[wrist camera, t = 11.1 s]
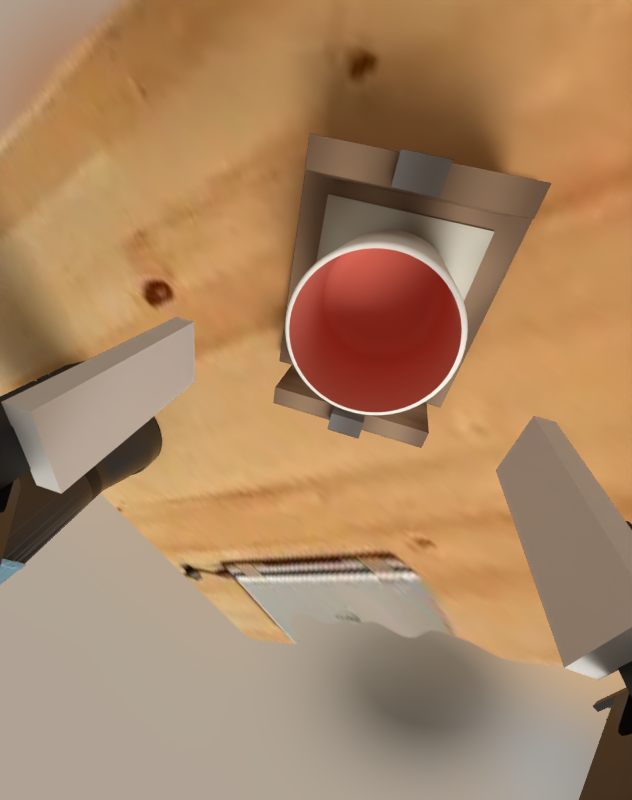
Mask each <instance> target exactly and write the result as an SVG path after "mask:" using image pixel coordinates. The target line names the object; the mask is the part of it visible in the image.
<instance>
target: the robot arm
mask: <svg viewBox="0 0 632 800" xmlns="http://www.w3.org/2000/svg"><path fill="white" fill-rule="evenodd" d="M194 382H195V351H194V322H192V321H188V320H185V319H181V318H177V317H175V318H173V319H171V320H169V321H167V322H165V323H163V324H161V325H159V326H157V327H155V328H153V329H151V330H148V331H146V332H144V333H142V334H140V335H138V336H136V337H134V338H132V339H130V340H128V341H126V342H124V343H122V344H120V345H118V346H116V347H113V348H111V349H109V350H107V351H105V352H103V353H101V354H99V355H97V356H95V357H93V358H91V359H89V360H87V361H82V362H78V363H74V364H70V365H66V366H64V367H62V368H60V369H58V370H56V371H54V372H52V373H50V375H45V376H43V377H41V378H39V379H37V381H36V382H35V381H32V382H30V383H28V384H26V385H24V386H22V387H20V388H18V389H16V390H13V391H11V392H9V393H7V394H5V395H3V396H1V397H0V585H1V584H2V583H3V582H4V581H6V580H7V579H8V578H9V577H10V576H12V575H13V574H14V573H15V572H16V571H18V570H19V569H21V568H23V567H24V566H25V563H26V562H27V561H28V560H29V559H30V558H31V557H32V556H34V555H35V554H36V553H37V552H38V551H39V550H40V549H41V548H42V547H43V546H44V545H45V544H46V543H47V542H48V541H50V540H51V538H53V537H54V536H55V535H56V534H57V533H58V532H59V531H60V530H61V529H62V528H63V527H64V526H65V525H67V524H68V523H69V522H70V521H71V520H72V519H73V518H74V517H75V516H76V515H77V514H78V513H79V512H80V511H81V510H82V509H83V508H85V507H86V506H87V505H88V504H89V503H90V502H91V501H92V500H93V499H94V498H95V497H96V496H97V495H98V494H100V493H101V492H102V491H103V490H105V489H107V488H109V487H110V486H112V485H114V484H116V483H118V482H120V481H122V480H124V479H125V478H127V477H129V476H131V475H134V474H136V473H139V472H141V471H142V470H144V469H145V468H146V467H148V466H149V465H150V464H151V463H152V462H153V461H154V460H155V459H156V458H157V456H158V455H159V453H160V451H161V446H162V440H161V434H160V430H159V428H158V425H157V423H156V421H155V419H154V416H155V415H156V414H157V413H158V412H159V411H161V410H162V409H163V408H164V407H165V406H167V405H168V404H169V403H170V402H171V401H173V400H174V399H175V398H176V397H177V396H179V395H180V394H181V393H182V392H183V391H185V390H186V389H187V388H188V387H189V386H190V385H192V384H193V383H194ZM496 472H497V475H498V478H499V481H500V484H501V486H502V489H503V492H504V495H505V498H506V501H507V504H508V507H509V510H510V512H511V515H512V518H513V521H514V524H515V527H516V530H517V533H518V535H519V538H520V541H521V544H522V547H523V550H524V553H525V556H526V559H527V561H528V564H529V567H530V570H531V573H532V576H533V579H534V582H535V584H536V587H537V590H538V593H539V596H540V599H541V602H542V605H543V608H544V610H545V613H546V616H547V619H548V622H549V625H550V628H551V631H552V633H553V636H554V639H555V642H556V645H557V648H558V651H559V654H560V656H561V659H562V662H563V665H564V668H566V669H569V670H572V671H575V672H578V673H581V674H584V675H586V676H589V677H592V678H595V679H598V680H600V679H602V678H604V677H606V676H607V675H609V674H611V673H613V672H615V671H617V670H619V672H620V674H621V676H622V678H623V680H624V682H625V685H626V688H624V689H622V690H620V691H618V692H616V693H614V694H611V695H610V696H607V697H605V698H603V699H601V700H599V701H597V702H596V703H595V704H594V705H593V707H594V708H595V709H596V710H597V711H598V712H599V711H601V710H603V709H605V708H611V710H610V713H609V716H608V718H607V719H606V720H607V722H606V725H605V727H604V730H603V733H602V736H601V738H600V741H599V744H598V747H597V750H596V753H595V755H594V759H593V761H592V764H591V767H590V770H589V773H588V775H587V778H586V781H585V784H584V787H583V790H582V792H581V795H580V798H579V800H632V524H631V523H630V522H628V521H625V520H624V518H623V517H622V516H621V514H620V513H619V511H618V510H617V508H616V507H615V506H614V504H613V503H612V501H611V500H610V498H609V497H608V496H607V494H606V493H605V491H604V490H603V489H602V487H601V486H600V484H599V483H598V481H597V480H596V479H595V477H594V476H593V474H592V473H591V471H590V470H589V469H588V467H587V466H586V464H585V463H584V461H583V460H582V459H581V457H580V456H579V454H578V453H577V451H576V450H575V449H574V447H573V446H572V444H571V443H570V442H569V440H568V439H567V437H566V436H565V434H564V433H563V432H562V430H561V429H560V427H559V426H558V424H557V423H556V422H554V421H550V420H547V419H543V418H539V417H536V416H533V418H532V419H531V421H530V422H529V423H528V425H527V426H526V428H525V429H524V431H523V432H522V433H521V435H520V436H519V438H518V439H517V441H516V442H515V444H514V445H513V446H512V448H511V449H510V451H509V452H508V454H507V455H506V456H505V458H504V459H503V461H502V462H501V464H500V465H499V467H498V468H497V469H496Z"/></svg>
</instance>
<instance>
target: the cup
mask: <svg viewBox="0 0 632 800" xmlns="http://www.w3.org/2000/svg"><path fill="white" fill-rule="evenodd" d="M467 333H468V322H467V314H466V309H465V305H464V302H463V299H462V296H461V294H460V292H459V290H458V288H457V286H456V284H455V282H454V280H453V278H452V276H451V275H450V273H449V271H448V269H447V267H446V265H445V263H444V261H443V260H442V258H441V256H440V255H439V254H438V252H437V251H436V250H435V249H434V248H433V247H432V246H431V245H430V244H429V243H427V242H426V241H424V240H423V239H421V238H420V237H418V236H416V235H414V234H411V233H408V232H405V231H401V230H393V229H384V230H376V231H372V232H368V233H365V234H363V235H360V236H358V237H356V238H355V239H353V240H351V241H349V242H348V243H346V244H344V245H343V246H341V247H339V248H338V249H336V250H334V251H333V252H331V253H329V254H328V255H326V256H325V257H323V258H322V259H320V260H319V261H318V262H317V263H315V264H314V265H313V266H312V267H311V268H310V269H309V270H308V271H307V272H306V274H305V275H304V276H303V277H302V279H301V280H300V282H299V283H298V285H297V286H296V288H295V290H294V292H293V294H292V297H291V299H290V302H289V305H288V310H287V314H286V323H285V335H286V343H287V348H288V351H289V355H290V357H291V360H292V362H293V364H294V367H295V368H296V370H297V372H298V374H299V375H300V377H301V378H302V379H303V381H304V382H305V383H306V384H307V385H308V386H309V387H310V389H312V390H313V391H314V392H315V393H316V394H317V395H318V396H320V397H321V398H323V399H324V400H326V401H327V402H329V403H330V404H332V405H334V406H336V407H339V408H341V409H344V410H347V411H350V412H353V413H358V414H365V415H388V414H394V413H399V412H402V411H406V410H409V409H411V408H414V407H416V406H418V405H420V404H422V403H424V402H425V401H427V400H428V399H430V398H431V397H433V396H434V395H435V394H436V393H438V392H439V391H440V390H441V389H442V388H443V387H444V386H445V385H446V384H447V382H448V381H449V380H450V379H451V377H452V376H453V374H454V373H455V371H456V370H457V368H458V366H459V364H460V362H461V359H462V357H463V354H464V350H465V347H466V341H467Z"/></svg>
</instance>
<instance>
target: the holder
mask: <svg viewBox="0 0 632 800" xmlns="http://www.w3.org/2000/svg"><path fill="white" fill-rule="evenodd" d="M452 160H453V159H448V158H443V157H438V156H433V155H428V154H424V153H419V152H414V151H409V150H404V149H401V151H400V152H397V151H392V150H388V149H383V148H378V147H373V146H368V145H363V144H358V143H354V142H349V141H344V140H339V139H334V138H329V137H324V136H320V135H315V134H310V135H309V143H308V150H307V158H306V165H305V177H304V184H303V192H302V199H301V206H300V214H299V221H298V228H297V236H296V243H295V250H294V258H293V265H292V272H291V280H290V287H289V295H288V302H287V309H286V314H287V310H288V305H289V302H290V299H291V297H292V294H293V292H294V290H295V288H296V286H297V285H298V283H299V282H300V280H301V279H302V277H303V276H304V275H305V274H306V272H307V271H308V270H309V269H310V268H311V267H312V266H313V265H314V264H315V263H317V262H318V261H319V260H320V259H322V258H323V257H325V256H326V255H328V254H329V253H331V252H333V251H334V250H336V249H338V248H339V247H341V246H343V245H344V244H346V243H348V242H349V241H351V240H353V239H355V238H356V237H358V236H360V235H363V234H365V233H368V232H372V231H376V230H384V229H393V230H401V231H405V232H408V233H411V234H414V235H416V236H418V237H420V238H421V239H423V240H424V241H426V242H427V243H429V244H430V245H431V246H432V247H433V248H434V249H435V250H436V251H437V252H438V254H439V255H440V256H441V258H442V260H443V261H444V263H445V265H446V267H447V269H448V271H449V273H450V275H451V276H452V278H453V280H454V282H455V284H456V286H457V288H458V290H459V292H460V294H461V296H462V299H463V302H464V305H465V309H466V314H467V322H468V333H467V341H466V347H465V350H464V354H463V357H462V359H461V362H460V364H459V366H458V368H457V370H456V371H455V373H454V374H453V376H452V377H451V379H450V380H449V381H448V382H447V384H446V385H445V386H444V387H443V388H442V389H441V390H440V391H439V392H438V393H436V394H435V395H434V396H433V397H431V398H430V399H428V400H427V401H425V402H424V403H422V404H420V405H418V406H416V407H414V408H411V409H409V410H406V411H402V412H399V413H394V414H388V415H365V414H358V413H353V412H350V411H347V410H344V409H341V408H339V407H336V406H334V405H332V404H330V403H329V402H327V401H326V400H324V399H323V398H321V397H320V396H318V395H317V394H316V393H315V392H314V391H313V390H312V389H310V387H309V386H308V385H307V384H306V383H305V382H304V381H303V379H302V378H301V377H300V375H299V374H298V372H297V370H296V368H295V367H294V364H293V362H292V360H291V357H290V355H289V351H288V348H287V343H286V335H285V324H284V331H283V339H282V346H281V353H280V361H281V362H285V363H288V364H292V366H291V367H290V368H289V370H288V371H287V372H286V374H285V375H284V376H283V378H282V379H281V380H280V382H279V383H278V385H277V386H276V387H275V395H274V402H273V403H275V404H279V405H282V406H285V407H289V408H292V409H295V410H298V411H302V412H305V413H308V414H312V415H315V416H318V417H321V418H325V419H328V420H330V421H329V425H328V429H329V430H332V431H335V432H338V433H342V434H345V435H348V436H351V437H355V438H359V435H360V432H361V430H364V431H367V432H371V433H374V434H377V435H381V436H384V437H387V438H390V439H394V440H397V441H400V442H403V443H407V444H410V445H413V446H417V447H420V448H421V447H422V445H423V443H424V441H425V439H426V437H427V435H428V433H429V431H428V418H427V406H426V403H427V404H430V405H433V406H437V407H441V405H442V403H443V401H444V399H445V397H446V395H447V393H448V391H449V389H450V387H451V385H452V383H453V381H454V379H455V377H456V375H457V373H458V371H459V368H460V366H461V364H462V362H463V360H464V358H465V356H466V354H467V352H468V350H469V348H470V346H471V344H472V342H473V340H474V338H475V336H476V334H477V332H478V330H479V328H480V326H481V324H482V322H483V320H484V317H485V315H486V313H487V311H488V309H489V307H490V305H491V303H492V301H493V299H494V297H495V295H496V293H497V291H498V289H499V287H500V285H501V283H502V281H503V279H504V277H505V275H506V273H507V271H508V269H509V266H510V264H511V262H512V260H513V258H514V256H515V254H516V252H517V250H518V248H519V246H520V244H521V242H522V240H523V238H524V236H525V234H526V232H527V230H528V228H529V226H530V224H531V222H532V220H533V219H534V218H535V216H536V214H537V212H538V210H539V208H540V205H541V203H542V201H543V199H544V197H545V195H546V193H547V191H548V189H549V187H550V185H551V183H548V182H543V181H538V180H533V179H528V178H524V177H519V176H514V175H509V174H504V173H499V172H494V171H490V170H485V169H480V168H475V167H470V166H465V165H460V164H456V163H452ZM285 323H286V317H285Z"/></svg>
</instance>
